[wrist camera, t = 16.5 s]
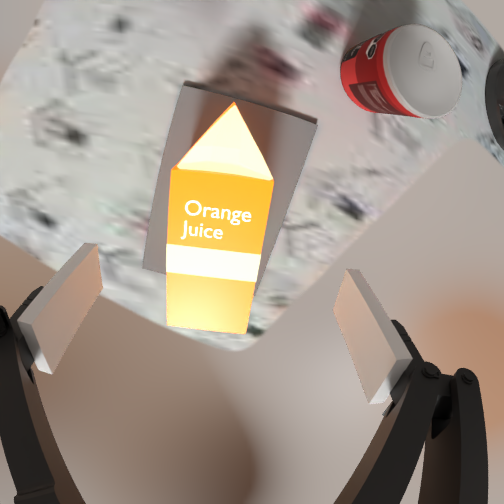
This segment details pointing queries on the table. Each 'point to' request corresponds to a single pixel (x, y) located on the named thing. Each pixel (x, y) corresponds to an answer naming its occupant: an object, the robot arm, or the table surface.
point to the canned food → (404, 73)
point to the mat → (268, 142)
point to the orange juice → (216, 228)
